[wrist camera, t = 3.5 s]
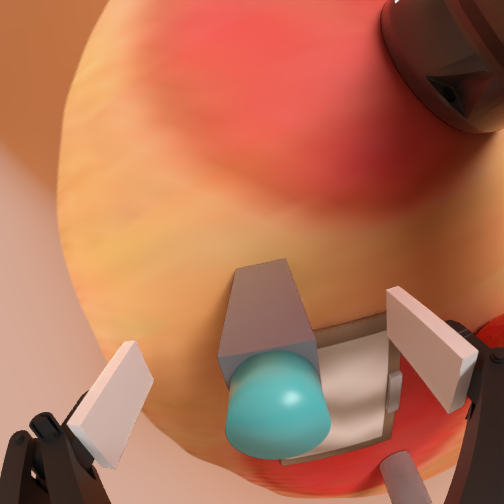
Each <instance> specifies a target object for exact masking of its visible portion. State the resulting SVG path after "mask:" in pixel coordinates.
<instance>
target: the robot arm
mask: <svg viewBox="0 0 504 504" xmlns="http://www.w3.org/2000/svg"><path fill="white" fill-rule="evenodd" d="M381 27H382V33H383V38H384V41H385V44H386V47H387V50H388V52H389V54H390V56H391V59H392V61H393V62H394V64H395V66H396V68H397V70H398V71H399V73H400V75H401V76H402V78H403V79H404V81H405V82H406V83H407V85H408V86H409V87H410V89H411V90H412V91H413V92H414V94H415V95H416V96H417V97H418V98H419V99H420V101H421V102H422V103H423V104H424V105H425V106H426V107H427V108H428V109H429V110H430V111H431V112H433V113H434V114H435V115H436V116H437V117H439V118H440V119H441V120H443V121H444V122H445V123H447V124H449V125H450V126H452V127H454V128H456V129H458V130H461V131H463V132H467V133H472V134H480V133H488V132H495V131H498V130H501V129H503V128H504V0H388V1H387V2H386V3H385V5H384V7H383V10H382V15H381ZM386 311H387V336H388V337H389V338H390V340H391V341H392V342H393V343H394V345H395V346H396V347H397V348H398V350H399V351H400V352H401V353H402V355H403V356H404V357H405V358H406V360H407V361H408V362H409V363H410V365H411V366H412V367H413V368H414V370H415V371H416V372H417V373H418V375H419V376H420V377H421V379H422V380H423V381H424V383H425V384H426V385H427V386H428V388H429V389H430V390H431V392H432V393H433V394H434V396H435V397H436V398H437V400H438V401H439V402H440V404H441V405H442V406H443V408H444V409H445V410H446V412H447V413H448V414H450V413H452V412H454V411H456V410H457V409H459V408H461V407H463V406H464V403H465V400H466V397H467V396H468V397H469V398H470V400H471V401H472V402H471V405H470V407H469V410H468V413H467V416H466V418H465V419H468V420H467V425H466V430H465V435H464V439H463V443H462V448H461V452H460V455H459V459H458V463H457V466H456V470H455V473H454V476H453V479H452V482H451V485H450V488H449V491H448V494H447V497H446V499H445V502H444V504H504V348H503V347H495V348H492V349H491V348H490V347H489V346H488V345H486V344H485V343H484V342H483V341H481V340H480V339H479V338H478V337H477V336H475V335H474V334H472V332H470V331H469V330H467V329H466V328H465V327H464V326H463V325H461V324H460V323H458V322H455V321H453V320H448V321H445V322H444V321H443V320H441V319H440V318H439V317H438V316H436V315H435V314H434V313H433V312H431V311H430V310H429V309H428V308H426V307H425V306H424V305H423V304H421V303H420V302H419V301H418V300H416V299H415V298H414V297H412V296H411V295H410V294H409V293H407V292H406V291H405V290H403V289H402V288H401V287H399V286H396V287H392V288H389V289H386ZM153 382H154V379H153V377H152V375H151V373H150V371H149V369H148V367H147V365H146V362H145V360H144V358H143V356H142V354H141V351H140V349H139V347H138V345H137V342H136V340H134V341H126V342H123V344H122V345H121V346H120V348H119V349H118V351H117V352H116V353H115V355H114V356H113V357H112V359H111V360H110V362H109V363H108V364H107V366H106V367H105V369H104V370H103V371H102V373H101V374H100V376H99V377H98V378H97V380H96V381H95V383H94V384H93V386H92V387H91V388H90V390H88V391H87V392H85V393H84V394H83V395H82V396H81V397H80V399H79V400H78V401H77V404H76V405H75V406H74V407H73V410H71V412H70V413H69V415H68V416H67V418H66V419H65V421H64V422H63V423H62V425H61V426H60V425H59V423H58V422H57V421H56V419H55V418H54V416H53V415H52V414H51V413H49V412H43V413H40V414H38V415H36V416H35V417H34V418H33V419H32V420H31V422H30V424H29V427H30V428H31V429H32V431H33V432H34V433H35V435H36V436H37V437H38V438H32V437H31V435H30V434H29V433H28V432H27V431H25V430H21V431H17V432H16V433H14V434H13V435H12V437H11V438H10V440H9V444H8V448H7V451H6V455H5V459H4V463H3V468H2V472H1V477H0V504H111V502H110V500H109V498H108V496H107V494H106V491H105V489H104V488H103V485H102V482H101V480H100V478H99V475H98V473H97V470H96V469H95V467H94V466H93V465H92V463H93V461H94V459H95V460H96V461H97V462H98V463H99V464H100V466H101V467H104V468H110V469H116V468H117V466H118V463H119V461H120V458H121V456H122V453H123V451H124V449H125V446H126V444H127V442H128V439H129V437H130V434H131V432H132V430H133V427H134V425H135V423H136V420H137V418H138V416H139V413H140V411H141V409H142V407H143V404H144V402H145V400H146V398H147V395H148V393H149V391H150V389H151V386H152V384H153ZM31 470H32V471H33V472H34V473H35V474H36V479H35V478H33V477H32V476H31Z"/></svg>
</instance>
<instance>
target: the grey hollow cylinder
mask: <svg viewBox="0 0 504 504" xmlns="http://www.w3.org/2000/svg"><path fill="white" fill-rule="evenodd" d="M379 468H380V471H381V474H382V476H383V479H384V482H385V485H386V488H387V490H388V493H389V496H390V499H391V502H392V504H433V503H432V501H431V499H430V497H429V494H428V492H427V490H426V487H425V485H424V483H423V481H422V479H421V476H420V474H419V472H418V470H417V468H416V466H415V464H414V461H413V459H412V457H411V455H410V453H409V452H408V451H400V452H397V453H394V454H392V455H390V456H389V457H387V458H386V459H384V460H383V461H382V462H381V464H380V466H379Z"/></svg>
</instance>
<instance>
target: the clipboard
mask: <svg viewBox="0 0 504 504" xmlns="http://www.w3.org/2000/svg"><path fill="white" fill-rule="evenodd" d="M313 333H314V336H315V339H316V346H317V353H318V360H319V368H320V376H321V384H322V391H323V394H324V398H325V401H326V405H327V408H328V412H329V415H330V419H331V428H330V431H329V434H328V435H327V437H326V438H325V439H324V441H323V442H322V443H320V444H319V445H318V446H317V447H315V448H314V449H312V450H310V451H309V452H306V453H304V454H302V455H299V456H296V457H292V458H287V459H280V461H281V464H282V466H286V465H292V464H298V463H303V462H309V461H314V460H318V459H323V458H327V457H332V456H336V455H340V454H343V453H347V452H351V451H354V450H358V449H361V448H365V447H368V446H371V445H374V444H377V443H380V442H383V441H386V440H389V439H391V434H392V428H393V422H394V415H395V410H398V409H399V403H400V395H401V386H402V377H403V374H402V373H401V371H400V370H399V369H400V354H401V352H400V351H399V350H398V348H397V347H396V346H395V345H394V343H393V342H392V341H391V340H390V338H389V337H388V336H387V312H384V313H380V314H377V315H373V316H370V317H366V318H363V319H359V320H355V321H352V322H348V323H344V324H340V325H336V326H332V327H328V328H324V329H320V330H315V331H313Z"/></svg>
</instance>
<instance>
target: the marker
mask: <svg viewBox="0 0 504 504" xmlns="http://www.w3.org/2000/svg"><path fill="white" fill-rule="evenodd" d="M217 359H218V362H219V365H220V368H221V370H222V373H223V376H224V379H225V382H226V384H227V387H228V390H229V392H230V393H229V401H228V410H227V419H226V427H225V433H226V437H227V439H228V441H229V443H230V444H231V445H232V446H233V447H234V448H235V449H237V450H238V451H240V452H242V453H244V454H246V455H249V456H251V457H255V458H260V459H269V460H277V459H287V458H292V457H296V456H299V455H302V454H304V453H306V452H309V451H310V450H312V449H314V448H315V447H317V446H318V445H319V444H320V443H322V442H323V441H324V439H325V438H326V437H327V435H328V434H329V431H330V428H331V419H330V415H329V412H328V408H327V405H326V401H325V398H324V394H323V391H322V384H321V376H320V368H319V360H318V353H317V346H316V339H315V336H314V333H313V331H312V328H311V325H310V322H309V320H308V317H307V314H306V311H305V309H304V306H303V303H302V301H301V298H300V295H299V293H298V290H297V287H296V285H295V282H294V279H293V277H292V274H291V271H290V269H289V266H288V264H287V261H286V258H285V259H280V260H276V261H271V262H266V263H262V264H257V265H252V266H247V267H243V268H238V269H236V271H235V275H234V280H233V285H232V289H231V294H230V298H229V303H228V308H227V312H226V317H225V322H224V326H223V331H222V336H221V340H220V345H219V350H218V355H217Z"/></svg>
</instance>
